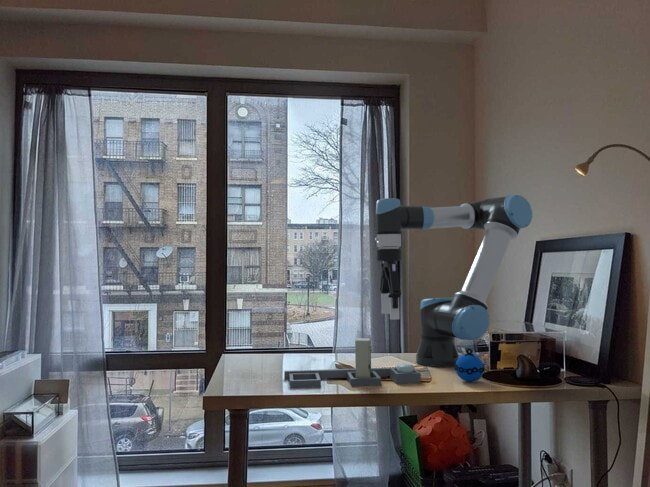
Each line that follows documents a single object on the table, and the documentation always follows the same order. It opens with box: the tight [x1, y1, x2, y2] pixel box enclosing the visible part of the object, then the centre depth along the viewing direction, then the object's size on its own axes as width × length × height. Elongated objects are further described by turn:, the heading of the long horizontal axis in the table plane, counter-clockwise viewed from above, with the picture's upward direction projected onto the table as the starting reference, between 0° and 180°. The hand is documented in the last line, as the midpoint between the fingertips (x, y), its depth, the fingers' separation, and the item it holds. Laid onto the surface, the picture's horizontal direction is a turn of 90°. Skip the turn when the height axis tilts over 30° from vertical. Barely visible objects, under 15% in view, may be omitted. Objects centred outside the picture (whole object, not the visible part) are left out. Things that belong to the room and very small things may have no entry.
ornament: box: [454, 348, 485, 383], centre depth 148 cm, size 9×9×10 cm
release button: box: [396, 363, 414, 373], centre depth 150 cm, size 5×5×2 cm
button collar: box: [389, 366, 422, 385], centre depth 150 cm, size 8×8×3 cm
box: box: [354, 337, 372, 378], centre depth 149 cm, size 5×4×13 cm
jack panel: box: [283, 367, 391, 389], centre depth 149 cm, size 38×11×2 cm, turn 96°
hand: (390, 316), depth 151 cm, fingers open, 13 cm apart
